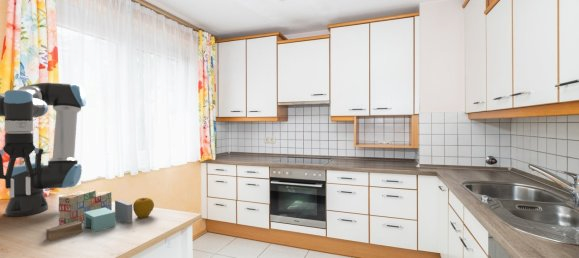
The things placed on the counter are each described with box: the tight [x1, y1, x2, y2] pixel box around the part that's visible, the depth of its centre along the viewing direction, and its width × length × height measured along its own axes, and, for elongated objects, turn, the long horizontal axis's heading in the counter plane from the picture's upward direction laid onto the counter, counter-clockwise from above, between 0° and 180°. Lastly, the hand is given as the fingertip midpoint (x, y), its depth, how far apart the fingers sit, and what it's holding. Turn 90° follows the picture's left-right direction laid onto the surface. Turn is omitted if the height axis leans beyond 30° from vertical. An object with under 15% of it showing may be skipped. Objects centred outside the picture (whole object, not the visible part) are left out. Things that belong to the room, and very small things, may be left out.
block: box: [83, 208, 116, 233], centre depth 118 cm, size 10×8×6 cm
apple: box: [132, 197, 155, 219], centre depth 130 cm, size 8×8×9 cm
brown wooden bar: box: [45, 221, 83, 242], centre depth 108 cm, size 4×10×4 cm, turn 150°
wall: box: [114, 199, 133, 224], centre depth 125 cm, size 12×2×8 cm, turn 55°
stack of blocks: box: [58, 189, 113, 226], centre depth 129 cm, size 21×6×12 cm, turn 169°
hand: (20, 195), depth 103 cm, fingers open, 4 cm apart
